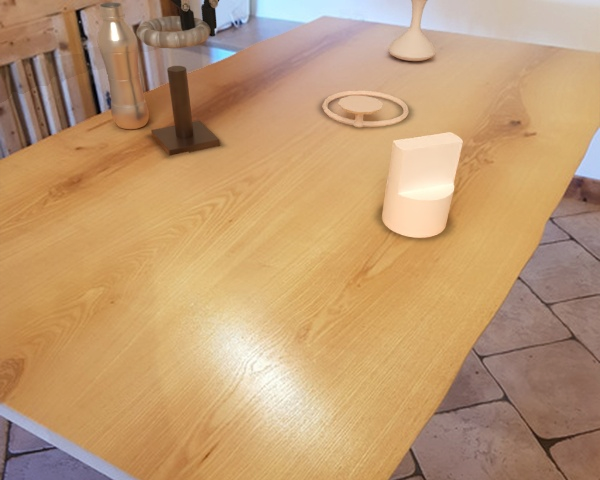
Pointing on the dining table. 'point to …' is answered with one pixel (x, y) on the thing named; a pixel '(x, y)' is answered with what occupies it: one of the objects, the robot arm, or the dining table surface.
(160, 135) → the stand
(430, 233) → the cylinder with rectangular tab
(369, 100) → the hand towel holder
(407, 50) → the flower in vase
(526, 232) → the dining table surface
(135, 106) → the plastic bottle
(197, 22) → the segmented ring
